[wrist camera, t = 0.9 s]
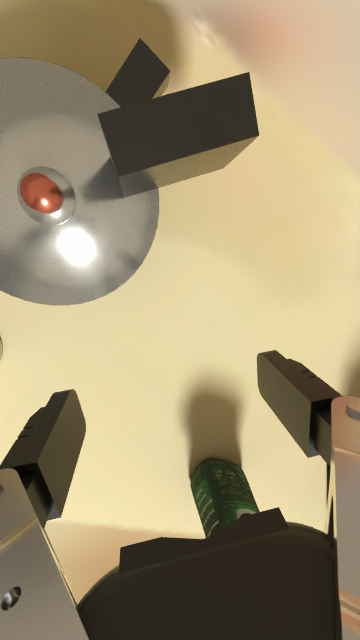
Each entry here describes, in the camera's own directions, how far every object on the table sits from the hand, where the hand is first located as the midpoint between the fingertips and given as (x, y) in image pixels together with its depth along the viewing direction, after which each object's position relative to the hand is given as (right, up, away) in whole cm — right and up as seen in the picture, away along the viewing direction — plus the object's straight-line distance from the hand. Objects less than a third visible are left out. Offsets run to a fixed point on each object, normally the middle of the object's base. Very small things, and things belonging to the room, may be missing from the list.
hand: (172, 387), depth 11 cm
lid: (-7, +13, +9) cm, 18 cm away
